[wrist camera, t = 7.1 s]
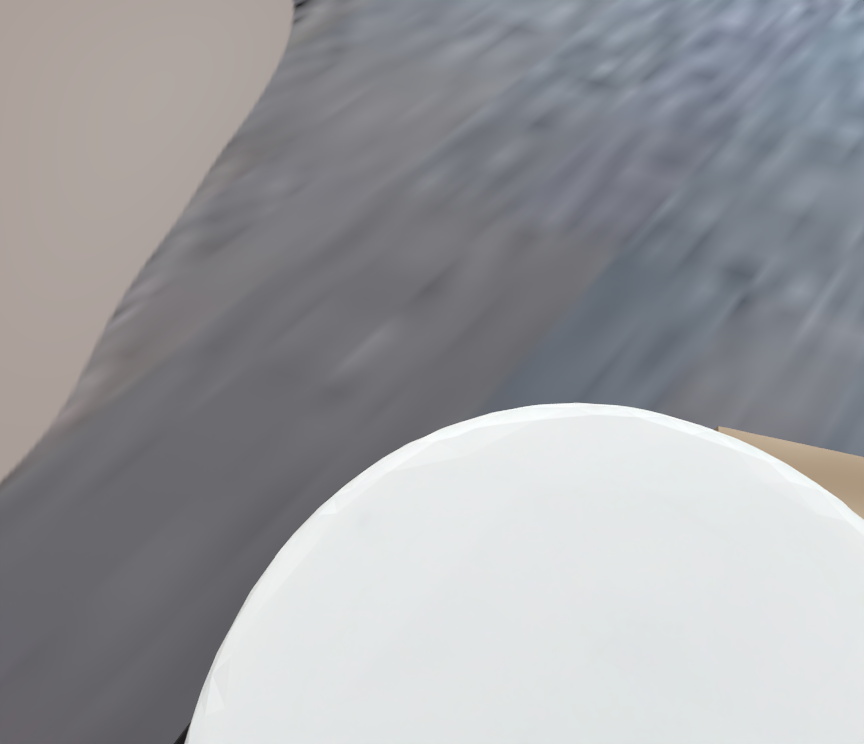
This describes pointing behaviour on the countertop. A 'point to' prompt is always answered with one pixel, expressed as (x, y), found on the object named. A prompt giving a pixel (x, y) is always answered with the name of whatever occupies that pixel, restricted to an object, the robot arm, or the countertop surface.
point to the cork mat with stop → (815, 465)
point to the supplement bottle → (555, 596)
